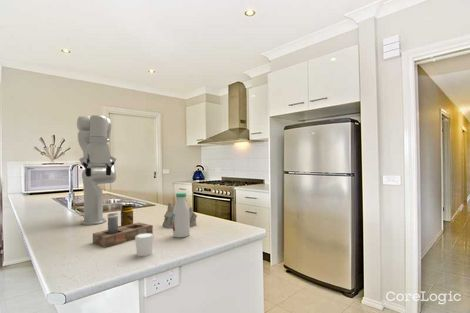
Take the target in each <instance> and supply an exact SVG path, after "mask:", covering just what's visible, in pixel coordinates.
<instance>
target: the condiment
mask: <svg viewBox="0 0 470 313" xmlns="http://www.w3.org/2000/svg"><path fill="white" fill-rule="evenodd" d="M130 224H134V209H133V204H130V203H129V204H128V203H127V204H125V203H124V204H122V205H121V210H120V225H118V227H122V226H126V225H130Z"/></svg>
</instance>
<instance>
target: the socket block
mask: <svg viewBox="0 0 470 313" xmlns="http://www.w3.org/2000/svg"><path fill="white" fill-rule="evenodd" d="M153 227H154V226H153V225H152V224H148V223H143V222H135V223H134V222H133V224H130V225H126V226H122V227H118V233H115V234H111V235H109V234H108V229H105V230H102V231H97V232H93V233H92V243H93V244H95V245H99V246H101V247H104V248H109V247H112V246H113V247H114V246H115V245H116V246H117V245H119V244H121V243H126V242H129V241H133V240H135V236H136V235H138V234H143V233H152V234H154V231H153V230H154V228H153Z"/></svg>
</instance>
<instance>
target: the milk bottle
mask: <svg viewBox="0 0 470 313" xmlns="http://www.w3.org/2000/svg"><path fill="white" fill-rule="evenodd" d="M175 197H176V200H175V203H176V204H174V205H173V207H174V209H173V228H172V235H173V237H175V238H186V237H189V236H190V234H191V233H190V232H191V231H190V228H191V227H190V218H189V209H190V206H188V203H187V200H186V198H187V193H186V192H178V193H175Z"/></svg>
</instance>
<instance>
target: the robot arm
mask: <svg viewBox="0 0 470 313" xmlns="http://www.w3.org/2000/svg"><path fill="white" fill-rule="evenodd" d="M76 127H77V129H78V132H77V141H78V144H79V147H80V149H81V150H82V154H83V156H82V157H80V158H79V162H80V163H81V166H83V168H85V169H83V170H82V172H81V180H82V184H83V186H82V187H83V215H82V218H83V219H82V221H80V225H81V226H82V225H83V226H92V225H93V226H94V225H99V224H103V223H106V220H107V219H106V218H104V215H103V214H104V211H103V210H104V209H103V208H104V204H103V202H104V200H103V197H104V196H103V195H104V194H103V190H102V188H101V187H100V186H99V185H101V184H104V185H105V184H112V183H114V182H115V181H116V179H117V173H116V172H117V171H116V166H115V163H116V160H117V158H115V157H114V156H112V155H111V150H110V145H109V144H108V143H110V139H111V138H110V137H111V132H112V121H111V119H110V118H109V117H106V116H105V115H100V114H99V115H98V114H93V115H91V116H89V115H87V116H86V115H85V116H81V115H79V116H78V118H77V120H76Z"/></svg>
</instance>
